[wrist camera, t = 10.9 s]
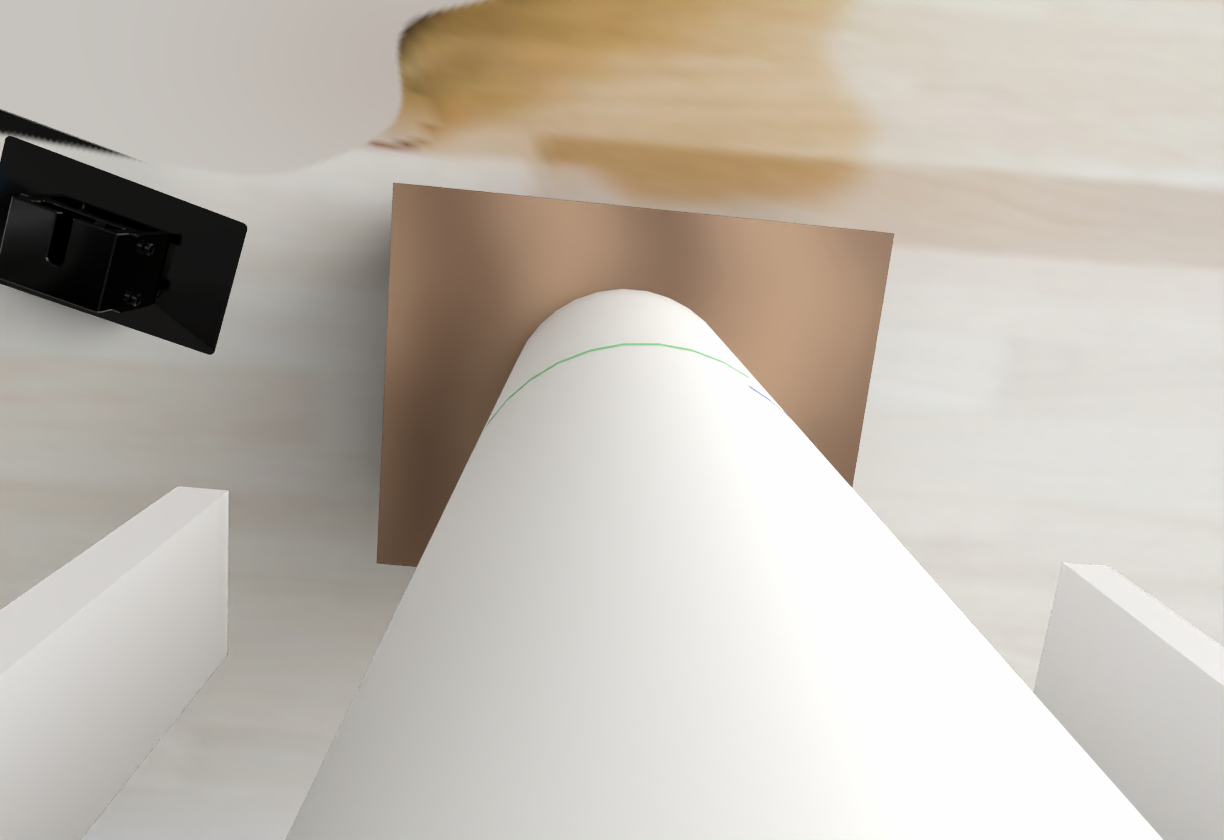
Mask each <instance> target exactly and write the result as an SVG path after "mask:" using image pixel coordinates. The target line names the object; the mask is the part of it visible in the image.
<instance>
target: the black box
mask: <svg viewBox="0 0 1224 840" xmlns="http://www.w3.org/2000/svg"><path fill="white" fill-rule="evenodd" d="M0 134H1V135H7V136H8V137H7V138H6V139H5V143H4V148H3V152H2V156H1V161H0V284H3V285H6V286H9V287H12V288H15V289H18V290H21V291H23V292H26V293H29V294H32V295H35V296H38V297H41V298H44V299H47V300H50V301H53V302H56V303H59V304H62V305H65V306H68V307H71V308H73V309H76V310H79V311H82V312H85V313H88V314H91V315H94V316H97V317H100V318H103V319H106V320H109V321H112V322H115V323H118V324H121V325H123V326H126V327H129V328H132V329H135V330H138V331H141V332H144V333H147V334H150V335H153V336H156V337H159V338H162V339H165V340H168V341H171V342H173V343H176V344H179V345H182V346H185V347H188V348H191V349H194V350H197V351H200V352H203V353H206V354H209V355H211V354H213V353H214V351H215V348H216V344H217V340H218V336H219V333H220V329H221V325H222V321H223V318H224V314H225V310H226V307H227V303H228V299H229V295H230V292H231V288H232V284H233V280H234V277H235V273H236V269H237V265H238V262H239V258H240V254H241V251H242V247H243V243H244V239H245V236H246V232H247V226H246V225H245V224H244V223H242V222H239V221H236V220H234V219H231V218H228V217H226V216H223V215H220V214H218V213H215V212H212V211H210V210H207V209H204V208H202V207H199V206H196V205H194V204H191V203H188V202H186V201H183V200H180V199H178V198H175V197H172V196H170V195H167V194H164V193H162V192H159V191H156V190H154V189H151V188H148V187H146V186H143V185H140V184H138V183H135V182H132V181H130V180H127V179H124V178H122V177H119V176H116V175H114V174H111V173H108V172H106V171H103V170H100V169H98V168H95V167H92V166H90V165H87V164H84V163H82V162H79V161H76V160H74V159H71V158H68V157H66V156H63V155H60V154H58V153H55V152H52V151H50V150H47V149H44V148H42V147H39V146H36V145H34V144H31V143H28V142H26V141H23V140H20V139H18V138H15V137H20V138H26V139H31V140H36V141H41V142H47V143H52V144H58V145H64V146H70V147H76V148H82V149H87V150H92V151H97V152H103V153H109V154H114V155H120V156H126V157H130V156H128V155H125V154H122V153H119V152H117V151H114V150H111V149H108V148H106V147H103V146H100V145H97V144H95V143H92V142H89V141H86V140H84V139H81V138H78V137H76V136H73V135H70V134H68V133H65V132H62V131H59V130H56V129H54V128H51V127H48V126H46V125H43V124H40V123H37V122H35V121H32V120H29V119H26V118H24V117H21V116H19V115H16V114H13V113H10V112H8V111H5V110H2V109H0ZM12 136H13V137H12ZM132 158H133V157H132Z"/></svg>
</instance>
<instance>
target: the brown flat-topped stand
mask: <svg viewBox="0 0 1224 840" xmlns="http://www.w3.org/2000/svg"><path fill="white" fill-rule="evenodd" d="M893 238H894V234H893V233H884V232H875V231H866V230H856V229H846V228H836V227H826V226H816V225H807V224H797V223H787V222H777V221H767V220H757V219H747V218H738V217H728V216H718V215H708V214H698V213H688V212H678V211H668V210H659V209H649V208H639V207H629V206H619V205H609V204H599V203H590V202H580V201H570V200H560V199H550V198H540V197H530V196H521V195H511V194H501V193H491V192H481V191H471V190H461V189H452V188H442V187H432V186H422V185H412V184H401V183H393V200H392V223H391V246H390V269H389V292H388V315H387V338H386V361H385V385H384V408H383V431H382V454H381V477H380V500H379V523H378V546H377V563H379V564H391V565H403V566H414V567H417V566H418V564H419V562H420V560H421V558H422V556H423V553H424V551H425V549H426V547H427V545H428V543H429V541H430V539H431V537H432V535H433V533H434V531H435V529H436V527H437V524H438V522H439V520H440V518H441V516H442V514H443V512H444V510H445V508H446V506H447V504H448V502H449V500H450V497H451V495H452V493H453V491H454V489H455V487H456V485H457V483H458V481H459V479H460V477H461V475H462V473H463V471H464V468H465V466H466V464H467V462H468V460H469V458H470V456H471V454H472V452H473V450H474V448H475V446H476V444H477V442H478V439H479V437H480V435H481V433H482V431H483V429H484V427H485V425H486V423H487V421H488V419H489V417H490V415H491V413H492V411H493V409H494V407H495V405H496V403H497V400H498V398H499V396H500V394H501V392H502V390H503V388H504V386H505V384H506V382H507V380H508V378H509V376H510V374H511V372H512V370H513V368H514V366H515V363H516V361H517V359H518V358H519V356H520V354H521V352H522V350H523V348H524V346H525V344H526V342H527V340H528V339H529V338H530V337H531V335H532V334H533V333H534V332H535V330H536V329H537V328H538V327H539V325H540V324H541V323H543V322H544V321H545V320H546V319H547V318H548V317H549V316H551V315H552V314H553V313H554V312H555V311H556V310H558V309H560V308H562V307H563V306H565V305H567V304H569V303H570V302H572V301H574V300H575V299H578V298H581V297H584V296H587V295H590V294H593V293H596V292H600V291H609V290H617V289H629V290H641V291H648V292H651V293H655V294H658V295H661V296H665V297H668V298H670V299H672V300H674V301H676V302H678V303H680V304H681V305H683V306H685V307H687V308H689V309H690V310H691V311H692V312H694V313H695V314H696V315H697V316H699V317H700V318H701V319H702V320H703V321H705V322H706V323H707V325H708V326H709V327H710V328H711V329H712V330H713V331H714V332H715V334H716V335H717V336H718V337H719V338H720V339H721V340H722V342H723V343H724V344H725V345H726V346H727V347H728V348H729V349H730V351H731V352H732V353H733V354H734V355H735V356H736V357H737V358H738V360H739V361H740V362H741V363H742V364H743V365H744V366H745V368H746V369H747V370H748V371H749V372H750V373H751V374H752V375H753V377H754V378H755V379H756V380H757V381H758V382H759V383H760V385H761V386H762V387H763V388H764V389H765V390H766V391H767V392H768V394H769V395H770V396H771V397H772V398H773V399H774V400H775V401H776V403H777V404H778V405H779V406H780V407H781V408H782V409H783V411H784V412H785V413H786V414H787V415H788V416H789V417H790V418H791V420H792V421H793V422H794V423H795V424H796V425H797V426H798V427H799V429H800V430H801V431H802V432H803V433H804V434H805V435H806V437H807V438H808V439H809V440H810V441H811V442H812V443H813V444H814V446H815V447H816V448H817V449H818V450H819V451H820V452H821V454H822V455H823V456H824V457H825V458H826V459H827V460H828V461H829V463H830V464H831V465H832V466H833V467H834V468H835V469H836V470H837V472H838V473H839V474H840V475H841V476H842V477H843V478H844V480H845V481H846V482H847V483H848V484H849V485H850V486H851V487H852V486H853V480H854V474H855V468H856V462H857V456H858V450H859V444H860V437H861V431H862V425H863V419H864V413H865V407H866V401H867V395H868V389H869V383H870V377H871V371H872V365H873V359H874V353H875V347H876V341H877V335H878V329H879V323H880V317H881V311H882V305H883V298H884V292H885V286H886V280H887V274H888V268H889V262H890V256H891V250H892V244H893Z"/></svg>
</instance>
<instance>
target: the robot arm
mask: <svg viewBox="0 0 1224 840" xmlns="http://www.w3.org/2000/svg"><path fill="white" fill-rule="evenodd" d="M228 505H229V490H217V489H206V488H194V487H182V486H177V487H176V488H174V489H173V490H171V491H170V492H169V493H167V494H166V495H164V496H163V497H161V498H160V499H159V500H157V501H156V502H154V503H153V504H151V505H150V506H148V507H147V508H146V509H144V510H143V511H141V512H140V513H138V514H137V515H136V516H134V517H133V518H131V519H130V520H128V521H127V522H126V523H124V524H123V525H121V526H120V527H118V528H117V529H116V530H114V531H113V532H111V533H110V534H108V535H107V536H105V537H104V538H103V539H101V540H100V541H98V542H97V543H95V544H94V545H93V546H91V547H90V548H88V549H87V550H85V551H84V552H83V553H81V554H80V555H78V556H77V557H75V558H74V559H72V560H71V561H70V562H68V563H67V564H65V565H64V566H62V567H61V568H60V569H58V570H57V571H55V572H54V573H52V574H51V575H50V576H48V577H47V578H45V579H44V580H42V581H41V582H39V583H38V584H37V585H35V586H34V587H32V588H31V589H29V590H28V591H27V592H25V593H24V594H22V595H21V596H19V597H18V598H17V599H15V600H14V601H12V602H11V603H9V604H8V605H6V606H5V607H4V608H2V609H1V610H0V840H81V839H82V837H83V836H84V835H85V834H86V832H87V831H88V830H89V829H90V827H91V826H92V825H93V824H94V822H95V821H96V820H97V819H98V817H99V816H100V815H101V814H102V812H103V811H104V810H105V808H106V807H107V806H108V805H109V803H110V802H111V801H112V800H113V798H114V797H115V796H116V795H117V793H118V792H119V791H120V790H121V788H122V787H123V786H124V785H125V783H126V782H127V781H128V780H129V778H130V777H131V776H132V774H133V773H134V772H135V771H136V769H137V768H138V767H139V766H140V764H141V763H142V762H143V761H144V759H145V758H146V757H147V756H148V754H149V753H150V752H151V751H152V749H153V748H154V747H155V746H156V744H157V743H158V742H159V741H160V739H161V738H162V737H163V735H164V734H165V733H166V732H167V730H168V729H169V728H170V727H171V725H172V724H173V723H174V722H175V720H176V719H177V718H178V717H179V715H180V714H181V713H182V712H183V710H184V709H185V708H186V707H187V705H188V704H189V703H190V701H191V700H192V699H193V698H194V696H195V695H196V694H197V693H198V691H199V690H200V689H201V688H202V686H203V685H204V684H205V683H206V681H207V680H208V679H209V678H210V676H211V675H212V674H213V673H214V671H215V670H216V669H217V668H218V666H219V665H220V664H221V662H222V661H223V660H224V659H225V657H226V656H227V655H228ZM1033 693H1034V694H1035V696H1036V697H1037V698H1038V699H1039V700H1040V701H1041V702H1042V704H1043V705H1044V706H1045V707H1046V708H1047V709H1048V710H1049V711H1050V713H1051V714H1052V715H1053V716H1054V717H1055V718H1056V719H1057V720H1058V722H1059V723H1060V724H1061V725H1062V726H1063V727H1064V728H1065V730H1066V731H1067V732H1068V733H1069V734H1070V735H1071V736H1072V737H1073V739H1074V740H1075V741H1076V742H1077V743H1078V744H1079V745H1080V747H1081V748H1082V749H1083V750H1084V751H1085V752H1086V753H1087V754H1088V756H1089V757H1090V758H1091V759H1092V760H1093V761H1094V762H1095V763H1096V765H1097V766H1098V767H1099V768H1100V769H1101V770H1102V771H1103V773H1104V774H1105V775H1106V776H1107V777H1108V778H1109V779H1110V780H1111V782H1112V783H1113V784H1114V785H1115V786H1116V787H1117V788H1118V790H1119V791H1120V792H1121V793H1122V794H1123V795H1124V796H1125V797H1126V799H1127V800H1128V801H1129V802H1130V803H1131V804H1132V805H1133V806H1134V808H1135V809H1136V810H1137V811H1138V812H1139V813H1140V814H1141V816H1142V817H1143V818H1144V819H1145V820H1146V821H1147V822H1148V823H1149V825H1150V826H1151V827H1152V828H1153V829H1154V830H1155V831H1156V832H1157V834H1158V835H1159V836H1160V837H1161V838H1162V839H1163V840H1224V647H1223V646H1221V645H1220V644H1219V643H1217V642H1216V641H1214V640H1213V639H1211V638H1210V637H1209V636H1207V635H1206V634H1204V633H1203V632H1202V631H1200V630H1199V629H1197V628H1196V627H1195V626H1193V625H1192V624H1190V623H1189V622H1187V621H1186V620H1185V619H1183V618H1182V617H1180V616H1179V615H1178V614H1176V613H1175V612H1173V611H1172V610H1170V609H1169V608H1168V607H1166V606H1165V605H1163V604H1162V603H1161V602H1159V601H1158V600H1156V599H1155V598H1154V597H1152V596H1151V595H1149V594H1148V593H1146V592H1145V591H1144V590H1142V589H1141V588H1139V587H1138V586H1137V585H1135V584H1134V583H1132V582H1131V581H1130V580H1128V579H1127V578H1125V577H1124V576H1122V575H1121V574H1120V573H1118V572H1117V571H1115V570H1114V569H1113V568H1111V567H1110V566H1103V565H1091V564H1080V563H1068V562H1062V566H1061V571H1060V575H1059V580H1058V584H1057V589H1056V593H1055V597H1054V602H1053V606H1052V611H1051V615H1050V620H1049V624H1048V629H1047V633H1046V638H1045V642H1044V647H1043V651H1042V655H1041V660H1040V664H1039V669H1038V673H1037V678H1036V682H1035V687H1034V691H1033Z"/></svg>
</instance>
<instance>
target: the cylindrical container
mask: <svg viewBox="0 0 1224 840" xmlns="http://www.w3.org/2000/svg"><path fill="white" fill-rule="evenodd" d="M286 840H1163V839H1162V838H1161V837H1160V836H1159V835H1158V834H1157V832H1156V831H1155V830H1154V829H1153V828H1152V827H1151V826H1150V825H1149V823H1148V822H1147V821H1146V820H1145V819H1144V818H1143V817H1142V816H1141V814H1140V813H1139V812H1138V811H1137V810H1136V809H1135V808H1134V806H1133V805H1132V804H1131V803H1130V802H1129V801H1128V800H1127V799H1126V797H1125V796H1124V795H1123V794H1122V793H1121V792H1120V791H1119V790H1118V788H1117V787H1116V786H1115V785H1114V784H1113V783H1112V782H1111V780H1110V779H1109V778H1108V777H1107V776H1106V775H1105V774H1104V773H1103V771H1102V770H1101V769H1100V768H1099V767H1098V766H1097V765H1096V763H1095V762H1094V761H1093V760H1092V759H1091V758H1090V757H1089V756H1088V754H1087V753H1086V752H1085V751H1084V750H1083V749H1082V748H1081V747H1080V745H1079V744H1078V743H1077V742H1076V741H1075V740H1074V739H1073V737H1072V736H1071V735H1070V734H1069V733H1068V732H1067V731H1066V730H1065V728H1064V727H1063V726H1062V725H1061V724H1060V723H1059V722H1058V720H1057V719H1056V718H1055V717H1054V716H1053V715H1052V714H1051V713H1050V711H1049V710H1048V709H1047V708H1046V707H1045V706H1044V705H1043V704H1042V702H1041V701H1040V700H1039V699H1038V698H1037V697H1036V696H1035V694H1034V693H1033V692H1032V691H1031V690H1030V689H1029V688H1028V687H1027V685H1026V684H1025V683H1024V682H1023V681H1022V680H1021V679H1020V678H1019V676H1018V675H1017V674H1016V673H1015V672H1014V671H1013V670H1012V668H1011V667H1010V666H1009V665H1008V664H1007V663H1006V662H1005V661H1004V659H1003V658H1002V657H1001V656H1000V655H999V654H998V653H997V651H996V650H995V649H994V648H993V647H992V646H991V645H990V644H989V642H988V641H987V640H986V639H985V638H984V637H983V636H982V635H981V633H980V632H979V631H978V630H977V629H976V628H975V627H974V625H973V624H972V623H971V622H970V621H969V620H968V619H967V618H966V616H965V615H964V614H963V613H962V612H961V611H960V610H959V608H958V607H957V606H956V605H955V604H954V603H953V602H952V601H951V599H950V598H949V597H948V596H947V595H946V594H945V593H944V592H943V590H942V589H941V588H940V587H939V586H938V585H937V584H936V582H935V581H934V580H933V579H932V578H931V577H930V576H929V575H928V573H927V572H926V571H925V570H924V569H923V568H922V567H921V566H920V564H919V563H918V562H917V561H916V560H915V559H914V558H913V556H912V555H911V554H910V553H909V552H908V551H907V550H906V549H905V547H904V546H903V545H902V544H901V543H900V542H899V541H898V539H897V538H896V537H895V536H894V535H893V534H892V533H891V532H890V530H889V529H888V528H887V527H886V526H885V525H884V524H883V523H882V521H881V520H880V519H879V518H878V517H877V516H876V515H875V513H874V512H873V511H872V510H871V509H870V508H869V507H868V506H867V504H866V503H865V502H864V501H863V500H862V499H861V498H860V497H859V495H858V494H857V493H856V492H855V491H854V490H853V489H852V487H851V486H850V485H849V484H848V483H847V482H846V481H845V480H844V478H843V477H842V476H841V475H840V474H839V473H838V472H837V470H836V469H835V468H834V467H833V466H832V465H831V464H830V463H829V461H828V460H827V459H826V458H825V457H824V456H823V455H822V454H821V452H820V451H819V450H818V449H817V448H816V447H815V446H814V444H813V443H812V442H811V441H810V440H809V439H808V438H807V437H806V435H805V434H804V433H803V432H802V431H801V430H800V429H799V427H798V426H797V425H796V424H795V423H794V422H793V421H792V420H791V418H790V417H789V416H788V415H787V414H786V413H785V412H784V411H783V409H782V408H781V407H780V406H779V405H778V404H777V403H776V401H775V400H774V399H773V398H772V397H771V396H770V395H769V394H768V392H767V391H766V390H765V389H764V388H763V387H762V386H761V385H760V383H759V382H758V381H757V380H756V379H755V378H754V377H753V375H752V374H751V373H750V372H749V371H748V370H747V369H746V368H745V366H744V365H743V364H742V363H741V362H740V361H739V360H738V358H737V357H736V356H735V355H734V354H733V353H732V352H731V351H730V349H729V348H728V347H727V346H726V345H725V344H724V343H723V342H722V340H721V339H720V338H719V337H718V336H717V335H716V334H715V332H714V331H713V330H712V329H711V328H710V327H709V326H708V325H707V323H706V322H705V321H703V320H702V319H701V318H700V317H699V316H697V315H696V314H695V313H694V312H692V311H691V310H690V309H689V308H687V307H685V306H683V305H681V304H680V303H678V302H676V301H674V300H672V299H670V298H668V297H665V296H661V295H658V294H655V293H651V292H648V291H641V290H629V289H617V290H609V291H600V292H596V293H593V294H590V295H587V296H584V297H581V298H578V299H575V300H574V301H572V302H570V303H569V304H567V305H565V306H563V307H562V308H560V309H558V310H556V311H555V312H554V313H553V314H552V315H551V316H549V317H548V318H547V319H546V320H545V321H544V322H543V323H541V324H540V325H539V327H538V328H537V329H536V330H535V332H534V333H533V334H532V335H531V337H530V338H529V339H528V340H527V342H526V344H525V346H524V348H523V350H522V352H521V354H520V356H519V358H518V359H517V361H516V363H515V366H514V368H513V370H512V372H511V374H510V376H509V378H508V380H507V382H506V384H505V386H504V388H503V390H502V392H501V394H500V396H499V398H498V400H497V403H496V405H495V407H494V409H493V411H492V413H491V415H490V417H489V419H488V421H487V423H486V425H485V427H484V429H483V431H482V433H481V435H480V437H479V439H478V442H477V444H476V446H475V448H474V450H473V452H472V454H471V456H470V458H469V460H468V462H467V464H466V466H465V468H464V471H463V473H462V475H461V477H460V479H459V481H458V483H457V485H456V487H455V489H454V491H453V493H452V495H451V497H450V500H449V502H448V504H447V506H446V508H445V510H444V512H443V514H442V516H441V518H440V520H439V522H438V524H437V527H436V529H435V531H434V533H433V535H432V537H431V539H430V541H429V543H428V545H427V547H426V549H425V551H424V553H423V556H422V558H421V560H420V562H419V564H418V566H417V568H416V570H415V572H414V574H413V576H412V578H411V580H410V583H409V585H408V587H407V589H406V591H405V593H404V595H403V597H402V599H401V601H400V603H399V605H398V607H397V610H396V612H395V614H394V616H393V618H392V620H391V622H390V624H389V626H388V628H387V630H386V632H385V634H384V636H383V639H382V641H381V643H380V645H379V647H378V649H377V651H376V653H375V655H374V657H373V659H372V661H371V663H370V666H369V668H368V670H367V672H366V674H365V676H364V678H363V680H362V682H361V684H360V686H359V688H358V690H357V692H356V695H355V697H354V699H353V701H352V703H351V705H350V707H349V709H348V711H347V713H346V715H345V717H344V719H343V722H342V724H341V726H340V728H339V730H338V732H337V734H336V736H335V738H334V740H333V742H332V744H331V746H330V749H329V751H328V753H327V755H326V757H325V759H324V761H323V763H322V765H321V767H320V769H319V771H318V773H317V775H316V778H315V780H314V782H313V784H312V786H311V788H310V790H309V792H308V794H307V796H306V798H305V800H304V802H303V805H302V807H301V809H300V811H299V813H298V815H297V817H296V819H295V821H294V823H293V825H292V827H291V829H290V831H289V834H288V836H287V838H286Z"/></svg>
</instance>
